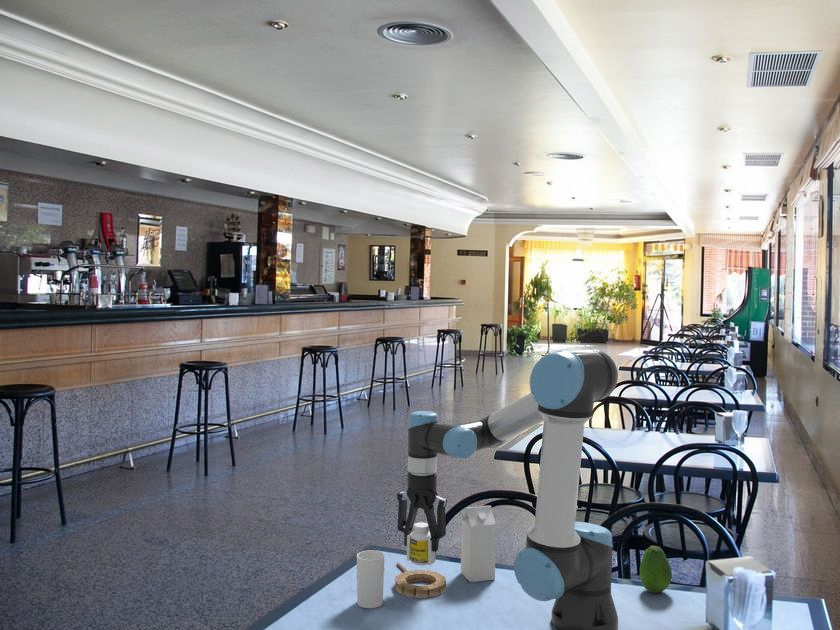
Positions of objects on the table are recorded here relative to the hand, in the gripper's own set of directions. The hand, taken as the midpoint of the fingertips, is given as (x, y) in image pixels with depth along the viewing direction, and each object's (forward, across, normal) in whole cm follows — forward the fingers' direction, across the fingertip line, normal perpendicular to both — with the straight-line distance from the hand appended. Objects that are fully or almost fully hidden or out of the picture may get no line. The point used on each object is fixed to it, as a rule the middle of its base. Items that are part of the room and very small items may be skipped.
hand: (420, 560), depth 198 cm
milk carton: (+7, -10, -14) cm, 19 cm away
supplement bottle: (+1, 0, 0) cm, 1 cm away
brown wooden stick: (+7, +9, -7) cm, 13 cm away
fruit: (+7, -54, -27) cm, 61 cm away
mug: (+7, +7, +13) cm, 16 cm away
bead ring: (+7, 0, 0) cm, 7 cm away
